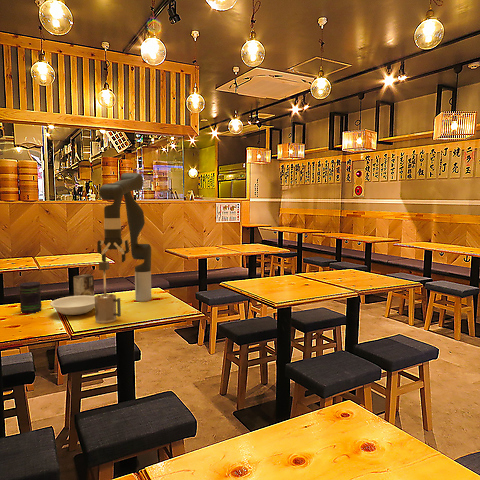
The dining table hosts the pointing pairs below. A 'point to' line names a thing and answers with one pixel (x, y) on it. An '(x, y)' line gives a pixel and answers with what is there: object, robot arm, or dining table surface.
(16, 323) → the dining table surface
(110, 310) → the brown mug
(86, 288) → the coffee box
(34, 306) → the storage jar
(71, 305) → the soup bowl
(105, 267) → the plunger
